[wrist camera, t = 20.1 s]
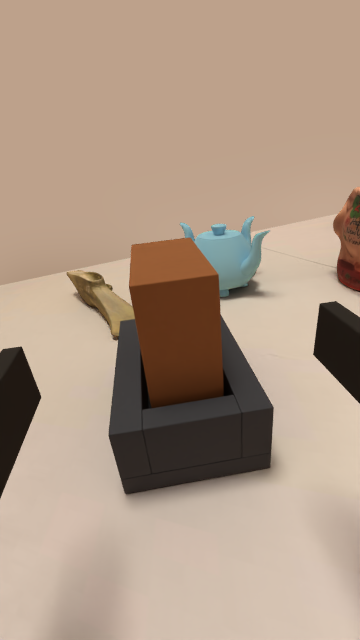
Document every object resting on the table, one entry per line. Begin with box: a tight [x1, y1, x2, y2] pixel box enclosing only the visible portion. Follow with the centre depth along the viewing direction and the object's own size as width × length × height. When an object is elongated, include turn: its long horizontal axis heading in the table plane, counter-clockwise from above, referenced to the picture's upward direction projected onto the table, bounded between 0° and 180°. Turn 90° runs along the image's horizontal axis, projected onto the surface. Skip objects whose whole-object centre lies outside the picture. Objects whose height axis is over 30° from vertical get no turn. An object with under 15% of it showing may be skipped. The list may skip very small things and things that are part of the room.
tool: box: [67, 270, 135, 336], centre depth 47 cm, size 22×6×5 cm, turn 33°
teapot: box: [180, 216, 269, 297], centre depth 49 cm, size 13×13×10 cm
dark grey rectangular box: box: [109, 314, 273, 494], centre depth 26 cm, size 10×15×6 cm, turn 7°
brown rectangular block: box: [129, 238, 224, 408], centre depth 24 cm, size 5×10×12 cm, turn 7°
